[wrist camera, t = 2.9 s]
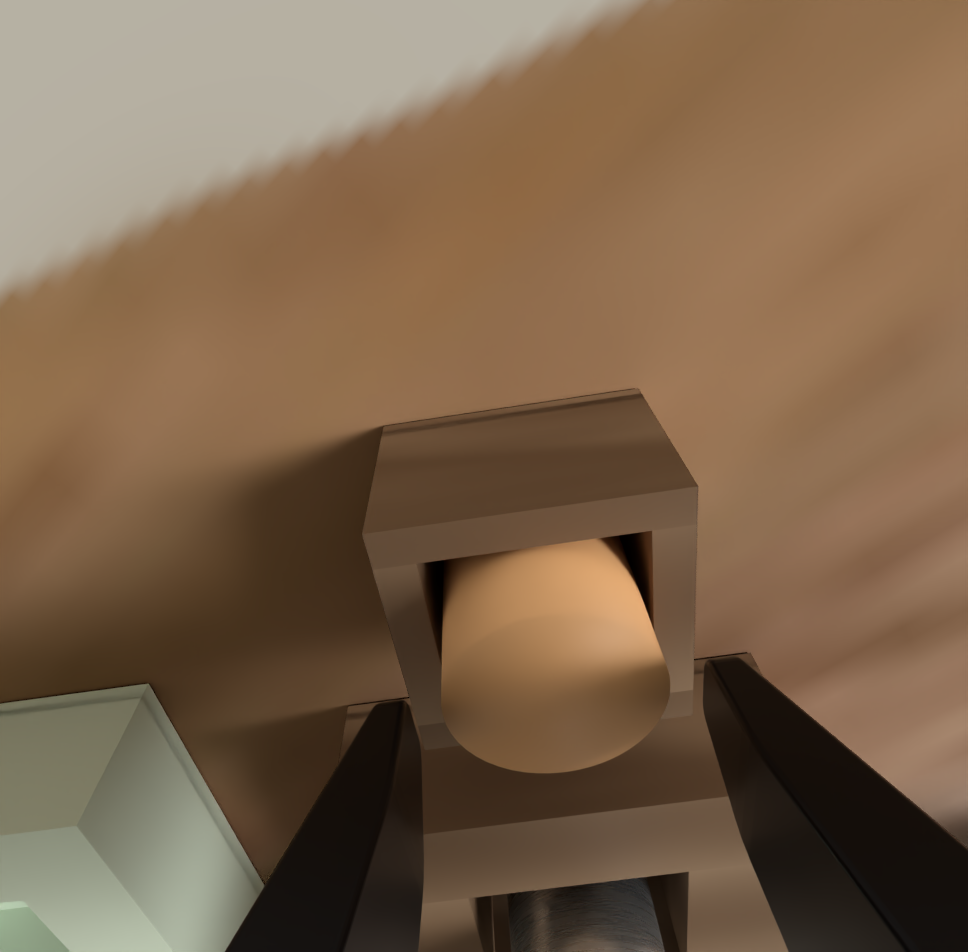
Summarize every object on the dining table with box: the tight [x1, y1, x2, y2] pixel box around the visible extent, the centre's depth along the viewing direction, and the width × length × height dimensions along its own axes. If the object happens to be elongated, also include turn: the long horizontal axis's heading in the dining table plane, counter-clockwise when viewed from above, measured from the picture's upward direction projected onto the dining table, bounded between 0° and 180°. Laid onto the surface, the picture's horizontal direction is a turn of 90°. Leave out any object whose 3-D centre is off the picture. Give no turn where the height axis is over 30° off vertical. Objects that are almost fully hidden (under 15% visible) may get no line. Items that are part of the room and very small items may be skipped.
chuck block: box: [339, 653, 789, 952], centre depth 16 cm, size 9×9×3 cm
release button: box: [441, 535, 670, 773], centre depth 10 cm, size 3×3×4 cm
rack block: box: [0, 684, 264, 952], centre depth 15 cm, size 9×9×3 cm
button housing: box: [362, 389, 698, 750], centre depth 11 cm, size 4×4×3 cm
